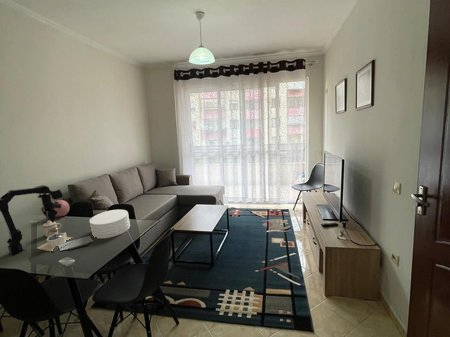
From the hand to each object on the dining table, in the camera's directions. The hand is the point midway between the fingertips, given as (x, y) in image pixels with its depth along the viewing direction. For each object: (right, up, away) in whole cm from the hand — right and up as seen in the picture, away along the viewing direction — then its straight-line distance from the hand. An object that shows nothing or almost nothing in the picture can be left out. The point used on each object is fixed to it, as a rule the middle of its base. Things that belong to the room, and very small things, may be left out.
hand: (51, 221), depth 195 cm
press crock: (+10, -15, -8) cm, 20 cm away
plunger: (+9, -10, -9) cm, 16 cm away
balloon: (-24, -6, +45) cm, 51 cm away
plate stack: (+42, -9, +9) cm, 44 cm away
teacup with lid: (-5, -12, +10) cm, 17 cm away
